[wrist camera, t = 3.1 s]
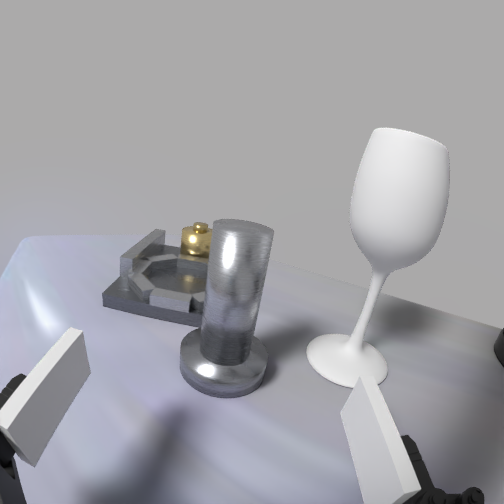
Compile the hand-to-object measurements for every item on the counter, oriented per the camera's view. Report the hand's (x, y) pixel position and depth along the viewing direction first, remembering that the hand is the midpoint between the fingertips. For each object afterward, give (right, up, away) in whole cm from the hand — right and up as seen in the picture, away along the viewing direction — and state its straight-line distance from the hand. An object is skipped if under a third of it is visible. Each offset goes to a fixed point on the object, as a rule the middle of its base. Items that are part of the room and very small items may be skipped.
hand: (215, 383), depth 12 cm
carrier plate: (-8, +2, +24) cm, 25 cm away
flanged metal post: (-1, -4, +11) cm, 11 cm away
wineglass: (+11, -5, +14) cm, 19 cm away
